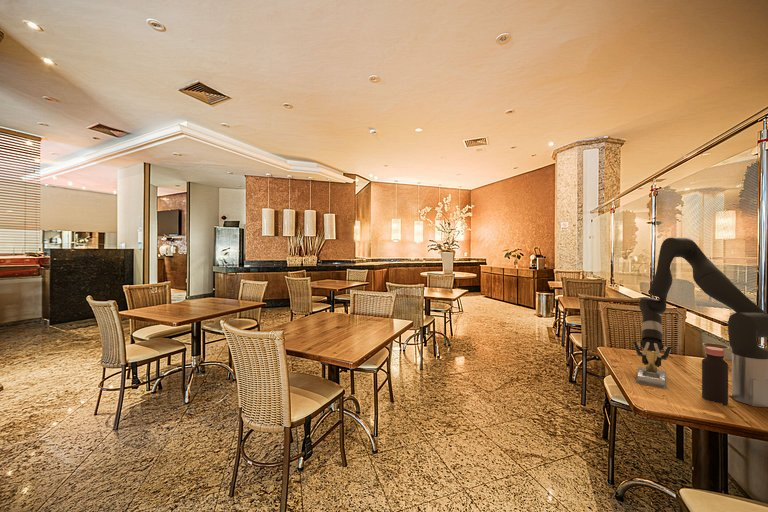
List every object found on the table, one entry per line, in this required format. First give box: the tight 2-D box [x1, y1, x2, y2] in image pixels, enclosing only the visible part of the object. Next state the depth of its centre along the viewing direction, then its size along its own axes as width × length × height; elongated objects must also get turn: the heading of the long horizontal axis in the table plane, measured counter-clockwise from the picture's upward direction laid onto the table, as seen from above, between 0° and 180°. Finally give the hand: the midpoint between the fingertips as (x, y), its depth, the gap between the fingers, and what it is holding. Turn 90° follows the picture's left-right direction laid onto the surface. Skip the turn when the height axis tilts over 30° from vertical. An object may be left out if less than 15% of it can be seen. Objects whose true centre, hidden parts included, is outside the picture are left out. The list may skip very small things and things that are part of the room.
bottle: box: [701, 347, 729, 407], centre depth 119 cm, size 7×7×20 cm
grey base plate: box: [634, 366, 668, 390], centre depth 140 cm, size 24×10×1 cm, turn 139°
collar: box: [637, 370, 665, 387], centre depth 136 cm, size 9×9×2 cm
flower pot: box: [702, 342, 730, 362], centre depth 159 cm, size 9×9×9 cm
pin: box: [645, 350, 658, 373], centre depth 145 cm, size 4×4×10 cm
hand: (651, 364), depth 143 cm, fingers closed on pin, 4 cm apart
